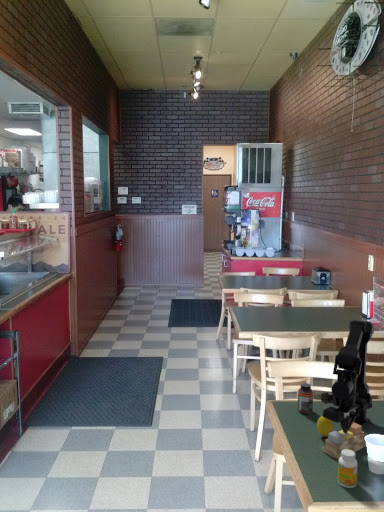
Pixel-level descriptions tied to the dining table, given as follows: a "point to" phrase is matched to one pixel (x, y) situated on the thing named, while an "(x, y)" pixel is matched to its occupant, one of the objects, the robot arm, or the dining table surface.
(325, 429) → the lemon
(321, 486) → the dining table surface
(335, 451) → the button board
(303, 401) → the supplement bottle
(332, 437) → the button slate
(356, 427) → the button terracotta
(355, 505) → the dining table surface
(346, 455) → the supplement bottle
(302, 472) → the dining table surface
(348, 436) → the button yellow
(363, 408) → the robot arm
